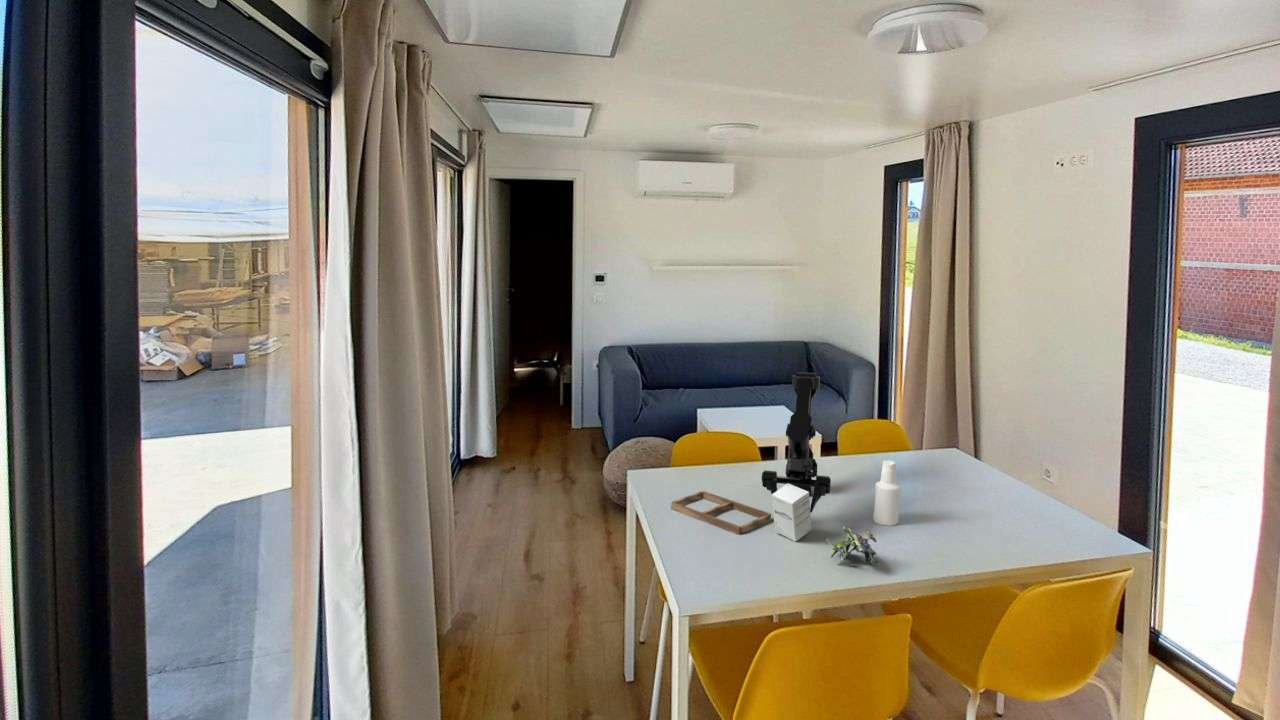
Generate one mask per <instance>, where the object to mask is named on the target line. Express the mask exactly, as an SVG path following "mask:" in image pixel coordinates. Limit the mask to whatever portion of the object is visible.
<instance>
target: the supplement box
mask: <svg viewBox="0 0 1280 720" xmlns="http://www.w3.org/2000/svg"><path fill="white" fill-rule="evenodd" d="M771 498H772V510H773V520H774V531H775V533H777V534H779V535H781V536H784V537H786V538H787V539H790V540H791V541H793V542H797V541H799V540H800V539H802V538H803V537H804V536H805V535H806V534H808V533H809V532H810V531H811V530H812V516H811V515H812V513H811V512H810V509H811V501H810V499H811V498H810V496H809V492H808V491H806V490H803V489H801V488H798V487H796V486H793V485H791V484H789V483H788V484H784V486H781V487H780V488H779V489H777V491H776V492H775V493H773V494H771Z"/></svg>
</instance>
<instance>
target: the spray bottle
mask: <svg viewBox="0 0 1280 720" xmlns="http://www.w3.org/2000/svg"><path fill="white" fill-rule="evenodd" d="M896 465H897V464H896V461H893V460H888V459H887V460H883V462H882V468H881V475H880V480H879V481H877V482H875V483H874V484H875V487H874V500H873V517H872V520H873V522H875V523H876V524H878V525H882V526H886V527H887V526H888V527H891V526H892V527H893V526H896V525H897V524H898V523H899V513H900V512H899V511H900V499H901V497H900V496H901V485H900V484H899V483H897V482H896V481H897V476H896V475H897V470H896Z"/></svg>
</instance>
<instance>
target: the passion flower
mask: <svg viewBox="0 0 1280 720" xmlns="http://www.w3.org/2000/svg"><path fill="white" fill-rule="evenodd" d="M842 528H843V532H844V533H845V534H846V536H847V537H846V540H845V541H844V540H840V541H839V542H835V543H832V542H831V541H830V540H831V539H830V538H829V537H826V540H825V544H826V545H829V544H831V545H832V546H833V548H832V550H833V552H832V554H831V556H830V558H831V559H832V558H833V557H834V556H835V555H836V554H837V553H838V552H840V560H839V562H838V564H837V565H838V566H840V564H842V562H843V561H845V560H846V559H848V557H849V555H850V554H851V553H852V552H853V551H856V553H862V554H863V555H864V557H865V562H866V564H867V565H868V566H871V567H873V566H874V564H878V562H879V560H878V559H876V557H877V554H878V553H877V552H876V551H875V550H874V549H873V548H872V547H871V544H869V542H868V541H870V540H872V541H873V542H875V543H877V542H878V541H877V539H876V538H875V536H874V534H873V533H871V532H870V531H869V530H868V529H865V532H866V534H867V535H868V537H866V538H865V537H863V536H862V535H861V534H860V532H858V531H857V530H856V529H855V528H852V529H851V528H849V527H848V528H847V529H846V526H843V527H842ZM850 547H852V548H851V549H850ZM873 563H874V564H873Z"/></svg>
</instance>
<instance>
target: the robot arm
mask: <svg viewBox="0 0 1280 720" xmlns="http://www.w3.org/2000/svg"><path fill="white" fill-rule="evenodd" d="M820 380H821V377H820V376H817V373H816V372H803V371H802V372H801V371H799V372H796V375H795V374H794V375H792V383H791V384H792V385H791V387H792V388H794V392H795V395H796V401H795V411H794V413H792V415H791V416H790V419H789V423H787V425H786V429H785V436H786V437H787V442H788V443H787V444H788V454H787V461H786V465H785V475H786V476H782V475H781V476H779V475H778V472H777V471H776V470H765V469H764V470H763V471H762V473H761V482H762V483H761V484H762V488H763V487H764V488H765V489H766V490H767V491H770V493H771V495H772V494H773V493H775V492H776V491H778V484H783V485H786V484H788V483H789V484H791V485H793V486H796V487H798V488H801V489H803V490H806V491H808V492H809V497H812V498H811V501H810V514H812V513H813V512H814V508H815V507H816V506H817V504H818V502H819V500H820V499H821V497H826V495H829V494H831V485H832V484H831V482H832V480H831V479H832V478H831V477H830V476H829V475H828V476H827V475H818V463H817V461H816V458H814V452H813V450H812V447H810V441H811V440H812V439H814V437H816V434H817V429H816V428H815V425H814V424H813V417H812V402H813V401H812V400H814V399H813V398H815V396H816V395H817V393H818V389H820ZM813 478H815V479H813ZM812 487H813V494H812Z"/></svg>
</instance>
